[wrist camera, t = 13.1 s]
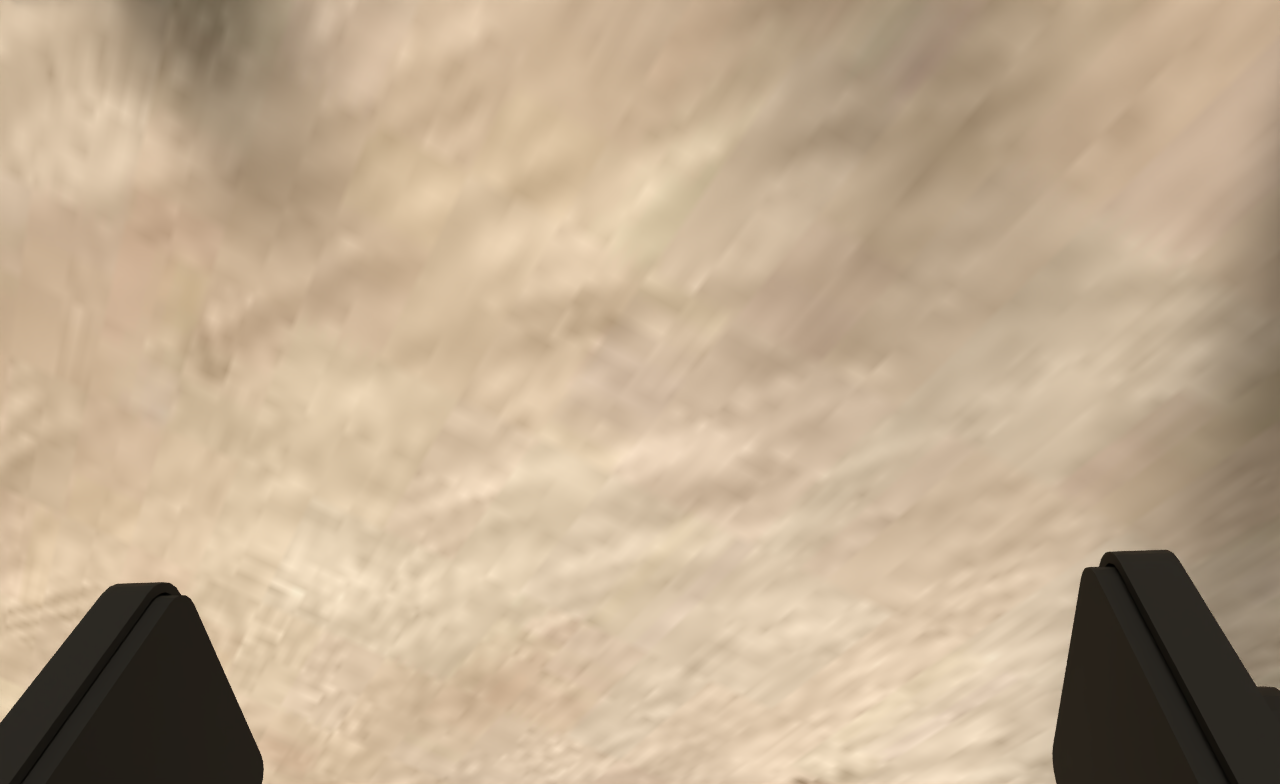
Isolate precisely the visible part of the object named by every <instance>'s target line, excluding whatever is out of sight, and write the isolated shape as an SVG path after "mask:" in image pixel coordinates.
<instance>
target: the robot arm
mask: <svg viewBox="0 0 1280 784" xmlns="http://www.w3.org/2000/svg"><path fill="white" fill-rule="evenodd" d="M1052 754H1053V768H1054V774H1055V779H1056V783H1057V784H1280V691H1279V690H1278V689H1277V688H1274V687H1257V686H1256V685H1255V683H1254V682H1253V680H1252V678H1251V677H1250V675H1249V673H1248V672H1247V670H1246V668H1245V667H1244V665H1243V664H1242V662H1241V660H1240V659H1239V657H1238V655H1237V654H1236V652H1235V651H1234V649H1233V647H1232V646H1231V644H1230V642H1229V641H1228V639H1227V638H1226V636H1225V634H1224V633H1223V631H1222V629H1221V628H1220V626H1219V625H1218V623H1217V621H1216V620H1215V618H1214V616H1213V615H1212V613H1211V612H1210V610H1209V608H1208V607H1207V605H1206V603H1205V602H1204V600H1203V599H1202V597H1201V595H1200V594H1199V592H1198V590H1197V589H1196V587H1195V586H1194V584H1193V582H1192V581H1191V579H1190V577H1189V576H1188V574H1187V573H1186V571H1185V569H1184V568H1183V566H1182V564H1181V563H1180V561H1179V560H1178V558H1177V557H1176V556H1175V555H1174V554H1173V553H1172V552H1170V551H1168V550H1147V551H1117V552H1107V553H1105V554H1104V555H1103V557H1102V558H1101V562H1100V565H1099V567H1088V568H1085V569H1084V571H1083V573H1082V577H1081V582H1080V588H1079V594H1078V600H1077V606H1076V612H1075V618H1074V624H1073V630H1072V636H1071V642H1070V648H1069V654H1068V660H1067V666H1066V672H1065V678H1064V684H1063V690H1062V696H1061V701H1060V707H1059V713H1058V719H1057V725H1056V731H1055V737H1054V743H1053V753H1052ZM263 771H264V768H263V760H262V756H261V754H260V751H259V749H258V747H257V745H256V742H255V740H254V738H253V736H252V733H251V731H250V729H249V727H248V724H247V722H246V720H245V718H244V715H243V713H242V711H241V709H240V706H239V704H238V702H237V700H236V697H235V695H234V693H233V691H232V688H231V686H230V684H229V682H228V679H227V677H226V675H225V673H224V670H223V668H222V666H221V664H220V661H219V659H218V657H217V655H216V652H215V650H214V648H213V646H212V644H211V641H210V639H209V637H208V635H207V632H206V630H205V628H204V626H203V623H202V621H201V619H200V617H199V614H198V612H197V610H196V608H195V605H194V603H193V602H192V600H191V599H190V598H189V597H187V596H185V595H181V594H180V593H179V591H178V590H177V588H176V587H175V586H173V585H172V584H171V583H164V582H158V583H127V584H116V585H113V586H111V587H109V588H108V589H107V590H106V591H105V592H104V593H103V594H102V595H101V596H100V597H99V598H98V600H97V601H96V602H95V604H94V605H93V606H92V607H91V609H90V610H89V611H88V612H87V614H86V615H85V616H84V618H83V619H82V620H81V621H80V623H79V624H78V625H77V626H76V628H75V629H74V630H73V631H72V633H71V634H70V635H69V637H68V638H67V639H66V640H65V642H64V643H63V644H62V645H61V647H60V648H59V649H58V651H57V652H56V653H55V654H54V656H53V657H52V658H51V659H50V661H49V662H48V663H47V664H46V666H45V667H44V668H43V670H42V671H41V672H40V673H39V675H38V676H37V677H36V678H35V680H34V681H33V682H32V684H31V685H30V686H29V687H28V689H27V690H26V691H25V692H24V694H23V695H22V696H21V697H20V699H19V700H18V701H17V703H16V704H15V705H14V706H13V708H12V709H11V710H10V711H9V713H8V714H7V715H6V717H5V718H4V719H3V720H2V722H1V723H0V784H262V780H263Z"/></svg>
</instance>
